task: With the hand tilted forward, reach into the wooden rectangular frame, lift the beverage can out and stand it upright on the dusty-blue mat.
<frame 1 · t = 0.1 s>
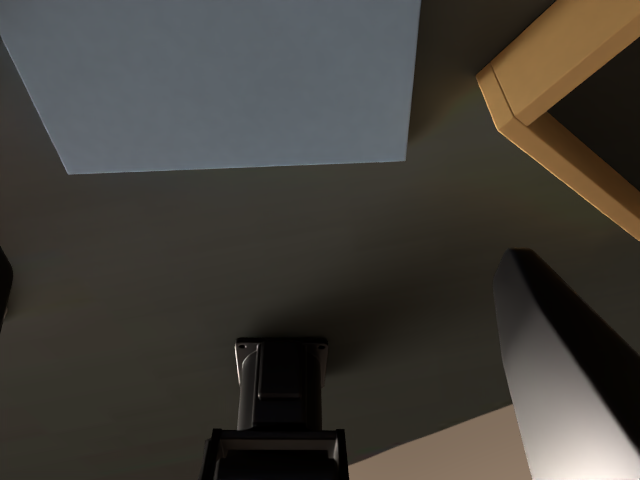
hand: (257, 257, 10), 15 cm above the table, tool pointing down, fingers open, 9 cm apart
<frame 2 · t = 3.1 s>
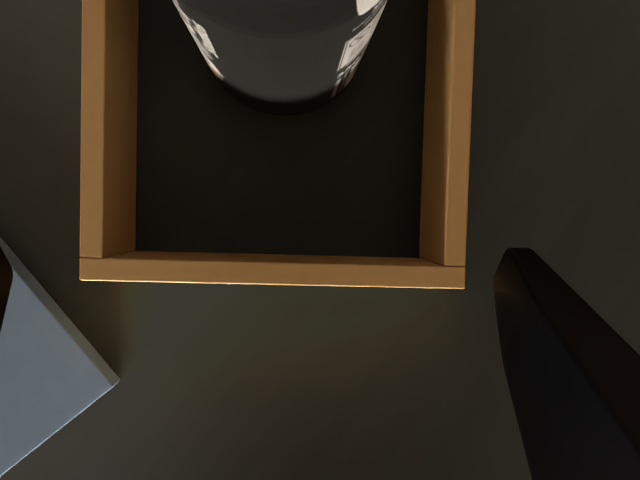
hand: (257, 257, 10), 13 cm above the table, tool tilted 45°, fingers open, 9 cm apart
wooden rectangular frame: (283, 76, 23), on the table
beverage can: (284, 41, 23), resting in wooden rectangular frame
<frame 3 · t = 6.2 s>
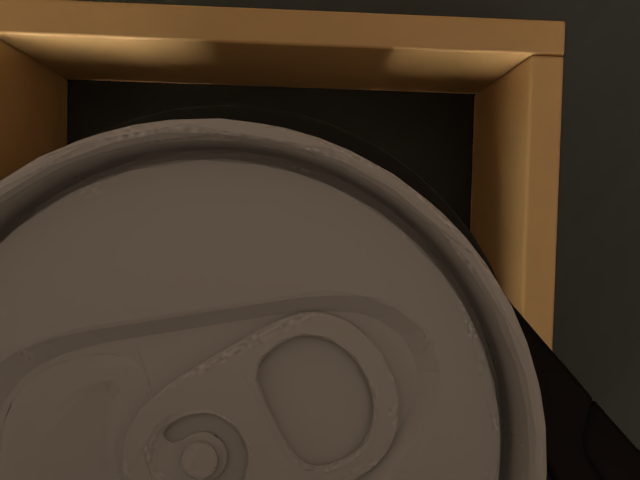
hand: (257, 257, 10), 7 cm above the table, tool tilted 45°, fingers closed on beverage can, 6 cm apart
wooden rectangular frame: (269, 338, 16), on the table
beverage can: (270, 287, 17), resting in wooden rectangular frame, touching gripper
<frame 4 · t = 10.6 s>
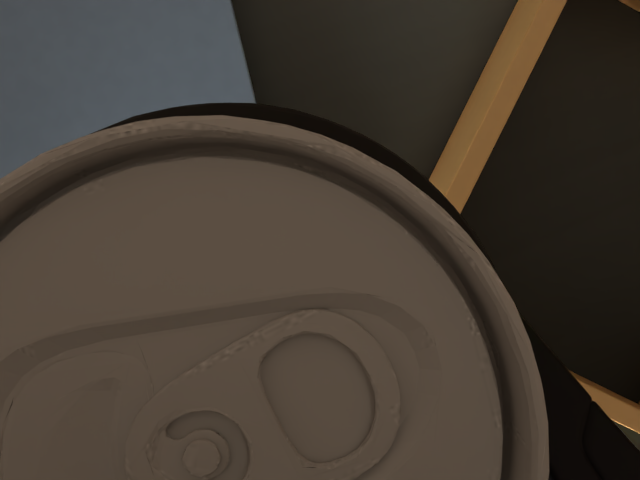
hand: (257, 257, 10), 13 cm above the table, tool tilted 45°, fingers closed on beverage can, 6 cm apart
wooden rectangular frame: (597, 190, 24), on the table
mat: (84, 211, 23), on the table
beverage can: (271, 286, 17), point 6 cm above the table, touching gripper
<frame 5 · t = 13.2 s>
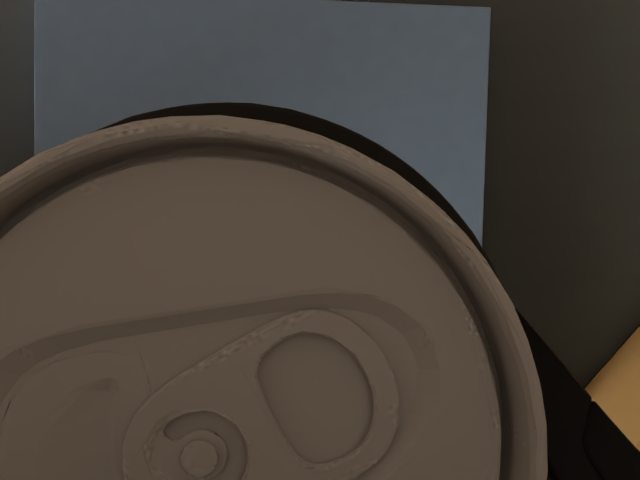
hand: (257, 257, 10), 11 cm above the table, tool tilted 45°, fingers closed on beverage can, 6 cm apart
mat: (263, 277, 21), on the table
beverage can: (270, 286, 17), point 4 cm above the table, touching gripper
when the fingers open (8 cm above the table, at t = 15.3 s): beverage can stays where it is, resting on mat.
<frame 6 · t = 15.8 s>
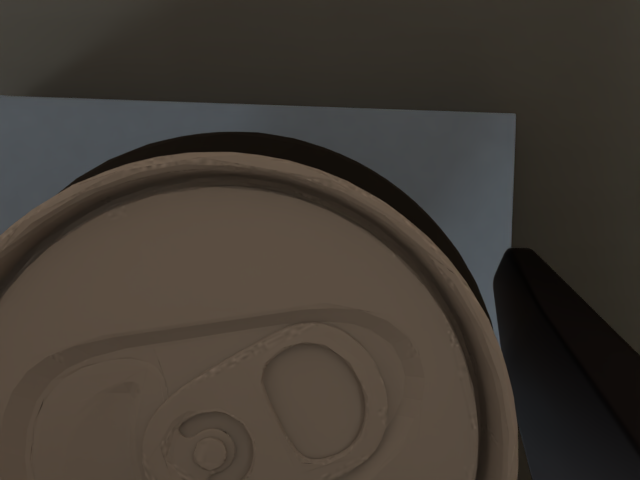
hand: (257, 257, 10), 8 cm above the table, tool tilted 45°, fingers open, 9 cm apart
mat: (257, 413, 18), on the table
beverage can: (271, 291, 17), point 1 cm above the table, touching mat
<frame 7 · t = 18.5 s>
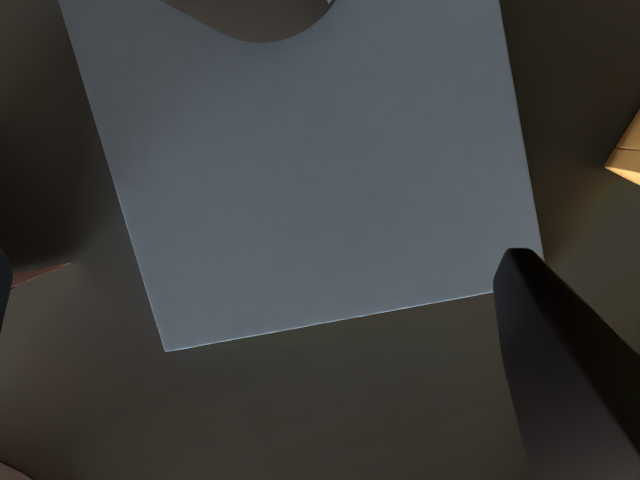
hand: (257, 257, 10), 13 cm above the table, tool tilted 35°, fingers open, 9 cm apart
mat: (288, 73, 22), on the table
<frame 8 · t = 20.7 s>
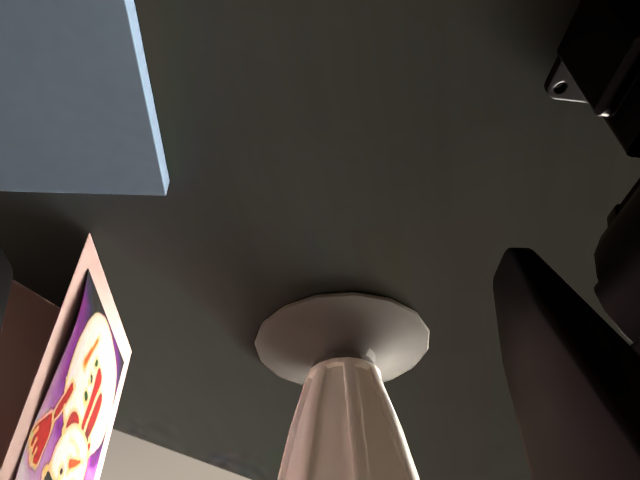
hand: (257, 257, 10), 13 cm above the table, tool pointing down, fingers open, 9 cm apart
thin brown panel: (64, 295, 32), on the table
cup: (342, 341, 36), on the table
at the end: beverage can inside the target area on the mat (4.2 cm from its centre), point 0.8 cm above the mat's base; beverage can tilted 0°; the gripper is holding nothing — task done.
